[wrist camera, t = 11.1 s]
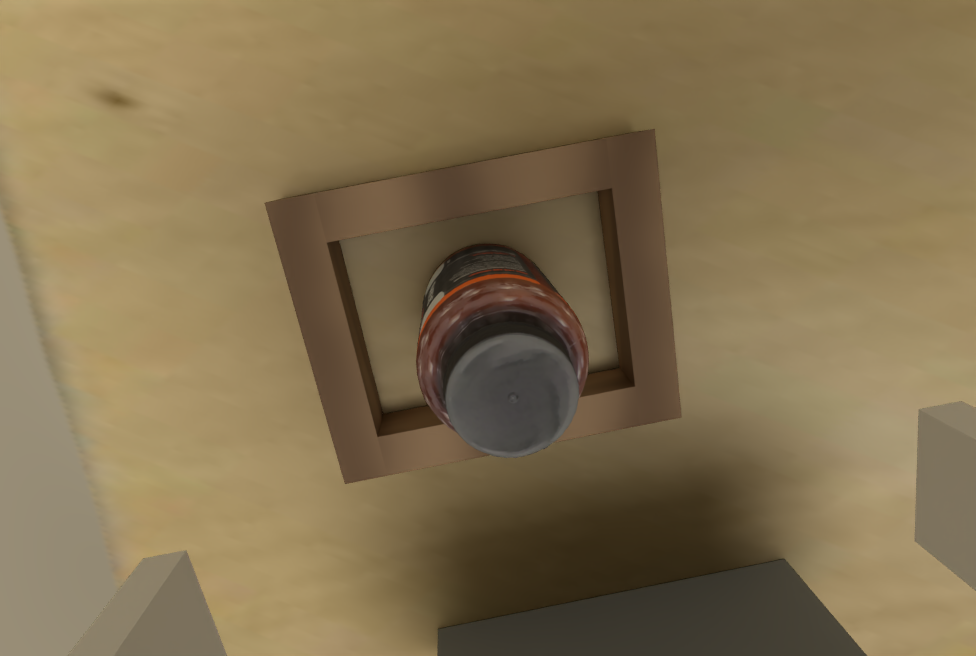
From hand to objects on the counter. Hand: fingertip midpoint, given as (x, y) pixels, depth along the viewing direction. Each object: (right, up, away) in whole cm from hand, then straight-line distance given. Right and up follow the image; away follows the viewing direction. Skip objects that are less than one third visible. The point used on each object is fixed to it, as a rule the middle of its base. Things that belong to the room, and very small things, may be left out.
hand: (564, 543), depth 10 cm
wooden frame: (-2, +5, +17) cm, 18 cm away
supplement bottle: (-1, +5, +17) cm, 18 cm away
